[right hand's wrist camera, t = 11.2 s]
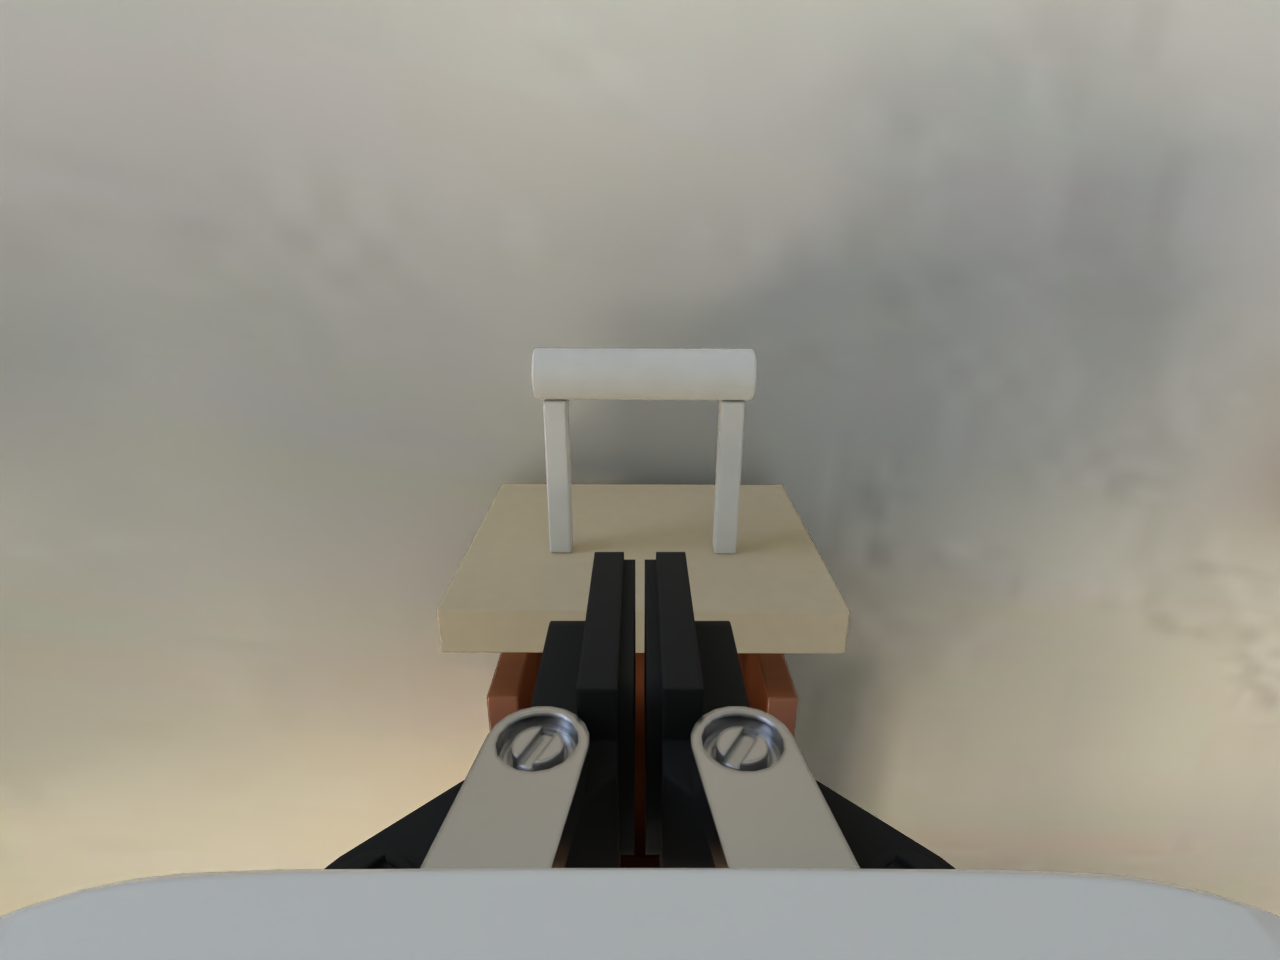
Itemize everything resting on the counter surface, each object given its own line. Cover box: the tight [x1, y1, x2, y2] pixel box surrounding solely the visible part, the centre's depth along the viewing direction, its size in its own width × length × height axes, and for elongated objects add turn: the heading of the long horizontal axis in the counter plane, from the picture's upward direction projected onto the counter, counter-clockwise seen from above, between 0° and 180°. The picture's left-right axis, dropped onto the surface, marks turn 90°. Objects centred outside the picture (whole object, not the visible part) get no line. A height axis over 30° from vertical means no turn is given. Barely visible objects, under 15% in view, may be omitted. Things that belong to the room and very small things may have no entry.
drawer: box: [437, 348, 850, 868], centre depth 22 cm, size 22×10×8 cm, turn 0°
